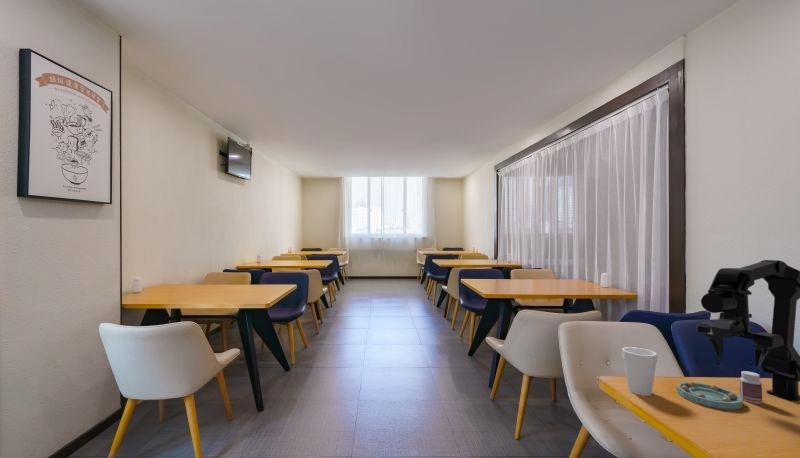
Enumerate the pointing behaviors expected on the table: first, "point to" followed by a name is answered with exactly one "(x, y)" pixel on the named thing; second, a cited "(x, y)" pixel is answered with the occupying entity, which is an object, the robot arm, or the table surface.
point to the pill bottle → (751, 387)
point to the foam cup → (639, 369)
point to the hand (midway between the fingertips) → (738, 361)
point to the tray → (709, 395)
